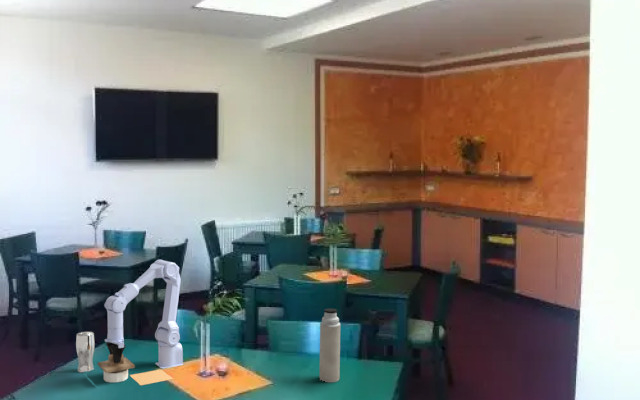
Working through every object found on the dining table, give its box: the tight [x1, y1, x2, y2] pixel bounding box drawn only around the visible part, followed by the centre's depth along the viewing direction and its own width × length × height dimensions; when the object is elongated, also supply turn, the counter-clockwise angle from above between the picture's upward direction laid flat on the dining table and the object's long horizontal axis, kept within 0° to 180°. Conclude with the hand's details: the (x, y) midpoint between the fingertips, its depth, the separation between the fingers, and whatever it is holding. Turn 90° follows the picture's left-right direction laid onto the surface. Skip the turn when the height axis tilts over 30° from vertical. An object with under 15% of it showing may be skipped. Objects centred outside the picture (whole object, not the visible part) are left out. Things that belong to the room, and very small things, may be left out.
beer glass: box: [75, 331, 95, 374], centre depth 263 cm, size 7×7×15 cm
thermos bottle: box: [318, 308, 341, 383], centre depth 257 cm, size 8×8×28 cm
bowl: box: [103, 369, 129, 383], centre depth 254 cm, size 9×9×4 cm
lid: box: [97, 353, 136, 373], centre depth 253 cm, size 11×11×4 cm
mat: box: [129, 368, 174, 386], centre depth 256 cm, size 13×13×1 cm
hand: (115, 361), depth 253 cm, fingers closed on lid, 3 cm apart
